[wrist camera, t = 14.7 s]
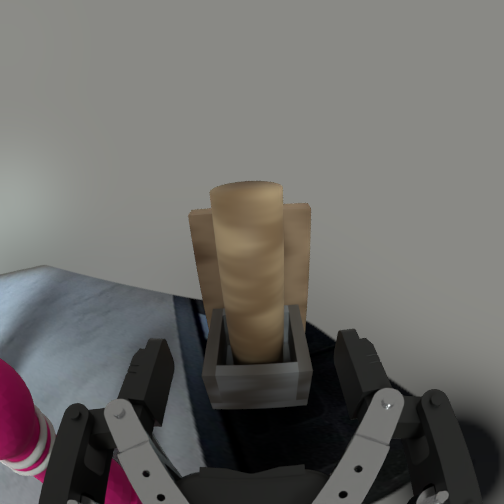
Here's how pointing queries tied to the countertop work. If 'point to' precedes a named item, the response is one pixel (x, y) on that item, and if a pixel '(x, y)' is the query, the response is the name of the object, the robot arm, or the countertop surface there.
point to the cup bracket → (295, 306)
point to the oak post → (251, 268)
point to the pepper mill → (40, 438)
